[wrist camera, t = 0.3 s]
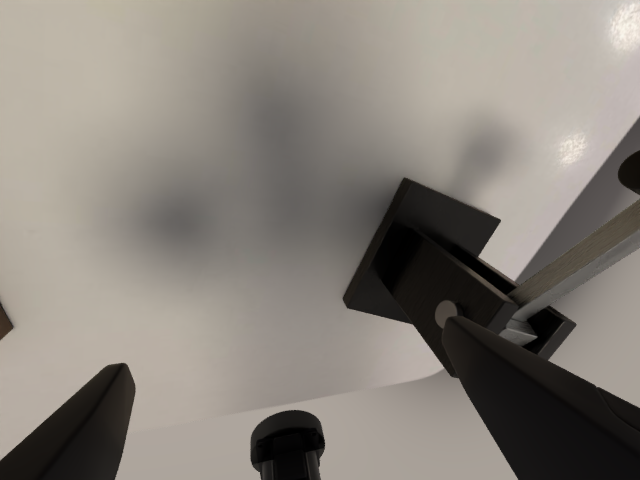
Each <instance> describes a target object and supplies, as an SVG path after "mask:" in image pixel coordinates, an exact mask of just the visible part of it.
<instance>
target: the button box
mask: <svg viewBox="0 0 640 480" xmlns="http://www.w3.org/2000/svg"><path fill="white" fill-rule="evenodd" d="M12 329H13V327H12V325H11V324H10V322H9V320H8V318H7V316H6V315H5V313H4V311H3V309H2V307H1V306H0V340H1V339H2V338H3V337H4V336H5V335H7V334H8V333H9V332H10V331H11V330H12Z"/></svg>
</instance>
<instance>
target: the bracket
mask: <svg viewBox="0 0 640 480" xmlns="http://www.w3.org/2000/svg"><path fill="white" fill-rule="evenodd" d="M500 222H501V220H500V219H498V218H496V217H494V216H492V215H489V214H487V213H485V212H483V211H480V210H478V209H476V208H474V207H471V206H469V205H467V204H464V203H462V202H460V201H458V200H455V199H453V198H451V197H449V196H446V195H444V194H442V193H440V192H437V191H435V190H433V189H431V188H428V187H426V186H424V185H421V184H419V183H417V182H415V181H412V180H410V179H408V178H404V179H403V181H402V183H401V185H400V187H399V189H398V191H397V193H396V195H395V197H394V199H393V201H392V203H391V205H390V207H389V209H388V211H387V213H386V215H385V217H384V219H383V221H382V222H381V224H380V226H379V228H378V230H377V232H376V234H375V236H374V238H373V240H372V242H371V244H370V246H369V248H368V250H367V252H366V254H365V256H364V258H363V260H362V262H361V264H360V266H359V268H358V270H357V272H356V274H355V276H354V278H353V280H352V282H351V284H350V286H349V287H348V289H347V291H346V293H345V295H344V297H343V301H344V303H345V305H346V307H347V308H349V309H353V310H357V311H361V312H365V313H369V314H373V315H377V316H381V317H385V318H389V319H393V320H397V321H401V322H405V323H409V324H413V325H414V326H415V328H416V329H417V331H418V332H419V333H420V335H421V336H422V337H423V339H424V340H425V342H426V343H427V344H428V346H429V347H430V348H431V350H432V351H433V352H434V354H435V355H436V357H437V358H438V359H439V361H440V362H441V363H442V365H443V366H444V368H445V369H446V370H447V372H448V373H449V374H450V376H452V377H455V378H459V377H458V375H457V373H456V371H455V369H454V367H453V365H452V363H451V361H450V359H449V357H448V355H447V352H446V350H445V348H444V346H443V344H442V333H443V329H444V325H445V321H446V319H447V318H448V317H451V316H463V317H465V318H467V319H469V320H470V321H472V322H474V323H476V324H478V325H480V326H482V327H484V328H486V329H488V330H490V331H492V332H494V333H495V334H497V335H499V334H500V333H501V331H502V330H503V329H504V327H505V326H506V325H507V323H508V322H509V320H510V319H511V318H512V316H513V315H514V314H515V312H516V311H517V309H518V308H519V305H518V304H516V303H515V302H514V301H513V300H511V299H510V298H509V297H507V296H506V295H507V294H509V293H510V292H511V291H513V290H514V289H516V288H517V287H518V286H520V285H519V284H517V283H516V282H514V281H513V280H511V279H510V278H508V277H507V276H505V275H504V274H502V273H501V272H500V271H498V270H497V269H495V268H494V267H492V266H491V265H489V264H488V263H486V262H485V261H483V260H482V259H480V258H479V257H478V256H479V255H480V253H481V251H482V250H483V248H484V247H485V245H486V244H487V242H488V240H489V239H490V237H491V236H492V234H493V233H494V231H495V229H496V228H497V226H498V225H499V223H500ZM527 321H528V322H529V324H530V325H531V327H532V329H533V330H534V332H535V333H536V335H537V338H536V339H534V340H532V341H531V342H529V343H527V344H525V345H524V346H522V348H524V349H526V350H528V351H530V352H532V353H534V354H536V355H538V356H540V357H542V358H544V359H546V360H548V359H549V358H550V357H551V356H552V355H553V353H554V352H555V351H556V350H557V349H558V347H559V346H560V345H561V344H562V343H563V341H564V340H565V339H566V338H567V336H568V335H569V334H570V333H571V332H572V330H573V329H574V328H575V327H576V323H575V322H573V321H572V320H570V319H568V318H567V317H566V316H564V315H563V314H561V313H560V312H558V311H557V310H556V309H554V308H553V307H551V306H550V305H549V306H547V307H546V308H544V309H543V310H541V311H539V312H538V313H536V314H535V315H533V316H531V317H530V318H528V319H527Z"/></svg>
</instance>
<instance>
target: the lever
mask: <svg viewBox="0 0 640 480" xmlns="http://www.w3.org/2000/svg"><path fill="white" fill-rule="evenodd" d="M618 179H619V181H620V183H621V184H622V185H624V186H625V187H627V188H629V189H630V190H632V191H634V192H635V193H637V194H639V195H640V150H639V151H637V152H635V153H634V154H632V155H630V156H629V157H628V158H627V159H625V160H624V162H623V163H622V164H621V166H620V168H619V171H618ZM639 248H640V199H639V200H637V201H636V202H635V203H633V204H632V205H630V206H629V207H628V208H626V209H625V210H623V211H622V212H621V213H619V214H618V215H616V216H615V217H614V218H612V219H611V220H610V221H608V222H607V223H605V224H604V225H603V226H601V227H600V228H598V229H597V230H596V231H594V232H593V233H592V234H590V235H589V236H588V237H586V238H585V239H583V240H582V241H581V242H579V243H578V244H576V245H575V246H574V247H572V248H571V249H569V250H568V251H567V252H565V253H564V254H563V255H561V256H560V257H558V258H557V259H556V260H554V261H553V262H552V263H550V264H549V265H547V266H546V267H545V268H543V269H542V270H540V271H539V272H538V273H536V274H535V275H534V276H532V277H531V278H529V279H528V280H527V281H525V282H524V283H523V284H521V285H520V286H518V287H517V288H516V289H514V290H513V291H511V292H510V293H509V294H507V295H506V296H507V297H509V298H510V299H511V300H513V301H514V302H515V303H516V304H518V305H519V308H518V309H517V311H516V312H515V314H514V315H513V316H512V318H511V319H510V320H509V322H508V323H507V325H506V326H505V327H504V329H503V330H502V331H501V333H500V334H499V336H501V337H503V338H505V339H507V340H509V341H511V342H513V343H515V344H517V345H519V346H521V347H522V346H524V345H525V344H527V343H529V342H531V341H532V340H534V339H536V338H537V335H536V333H535V332H534V330H533V329H532V327H531V325H530V324H529V322H528V321H527V319H528V318H530V317H531V316H533V315H535V314H536V313H538V312H539V311H541V310H543V309H544V308H546V307H547V306H549V305H550V304H552V303H554V302H555V301H557V300H558V299H560V298H561V297H563V296H565V295H566V294H568V293H569V292H571V291H572V290H574V289H576V288H577V287H579V286H580V285H582V284H584V283H585V282H587V281H588V280H590V279H591V278H593V277H595V276H596V275H597V274H599V273H601V272H602V271H604V270H606V269H607V268H609V267H610V266H612V265H613V264H615V263H616V262H618V261H620V260H621V259H623V258H625V257H626V256H628V255H629V254H631V253H632V252H634V251H636V250H637V249H639Z"/></svg>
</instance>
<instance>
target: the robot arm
mask: <svg viewBox="0 0 640 480" xmlns="http://www.w3.org/2000/svg"><path fill="white" fill-rule="evenodd" d="M442 344H443V346H444V348H445V350H446V352H447V355H448V357H449V359H450V361H451V363H452V365H453V367H454V369H455V371H456V373H457V375H458V377H459V379H460V382H461V384H462V385H463V388H464V389H465V391H466V393H467V395H468V397H469V398H470V400H471V402H472V403H473V405H474V407H475V408H476V410H477V412H478V413H479V415H480V417H481V418H482V420H483V422H484V423H485V425H486V427H487V428H488V430H489V432H490V433H491V435H492V437H493V438H494V440H495V442H496V443H497V445H498V447H499V448H500V450H501V452H502V453H503V455H504V456H505V458H506V460H507V462H508V463H509V465H510V467H511V468H512V470H513V472H514V473H515V475H516V476H517V478H518V480H640V408H638V407H637V406H635V405H632V404H631V403H629V402H627V401H625V400H623V399H621V398H619V397H617V396H615V395H613V394H611V393H609V392H607V391H605V390H604V389H602V388H600V387H596V386H595V385H594V384H592V383H590V382H588V381H586V380H584V379H582V378H580V377H578V376H576V375H574V374H573V373H571V372H569V371H567V370H565V369H563V368H561V367H559V366H557V365H555V364H553V363H551V362H549V361H548V360H546V359H544V358H542V357H540V356H538V355H536V354H534V353H532V352H530V351H528V350H526V349H524V348H522V347H521V346H519V345H517V344H515V343H513V342H511V341H509V340H507V339H505V338H503V337H501V336H499V335H497V334H495V333H494V332H492V331H490V330H488V329H486V328H484V327H482V326H480V325H478V324H476V323H474V322H472V321H470V320H469V319H467V318H465V317H463V316H451V317H448V318H447V319H446V321H445V325H444V329H443V333H442ZM134 397H135V383H134V380H133V378H132V375H131V372H130V370H129V367H128V365H127V364H126V363H118V364H111V365H108V366H106V367H105V368H103V369H102V370H101V371H100V372H99V373H98V374H97V375H95V376H94V377H93V378H92V379H91V380H90V381H89V382H88V383H87V384H85V385H84V386H83V387H82V388H81V389H80V390H79V391H78V392H76V393H75V394H74V395H73V396H72V397H71V398H70V399H69V400H68V401H66V402H65V403H64V404H63V405H62V406H61V407H60V408H59V409H57V410H56V411H55V412H54V413H53V414H52V415H51V416H50V417H49V418H47V419H46V420H45V421H44V422H43V423H42V424H41V425H40V426H39V427H37V428H36V429H35V430H34V431H33V432H32V433H31V434H30V435H28V436H27V437H26V438H25V439H24V440H23V441H22V442H21V443H20V444H18V445H17V446H16V447H15V448H14V449H13V450H12V451H11V452H9V453H8V454H7V455H6V456H5V457H4V458H3V459H2V460H1V461H0V480H115V477H116V474H117V471H118V468H119V464H120V461H121V457H122V453H123V449H124V444H125V440H126V435H127V430H128V425H129V421H130V416H131V411H132V406H133V402H134ZM255 448H256V454H257V459H258V465H259V470H260V475H261V480H321V478H320V473H319V466H320V460H319V437H318V429H317V428H309V429H304V430H300V431H295V432H290V433H286V434H281V435H276V436H272V437H267V438H262V439H258V440H257V441H256V442H255Z"/></svg>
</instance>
